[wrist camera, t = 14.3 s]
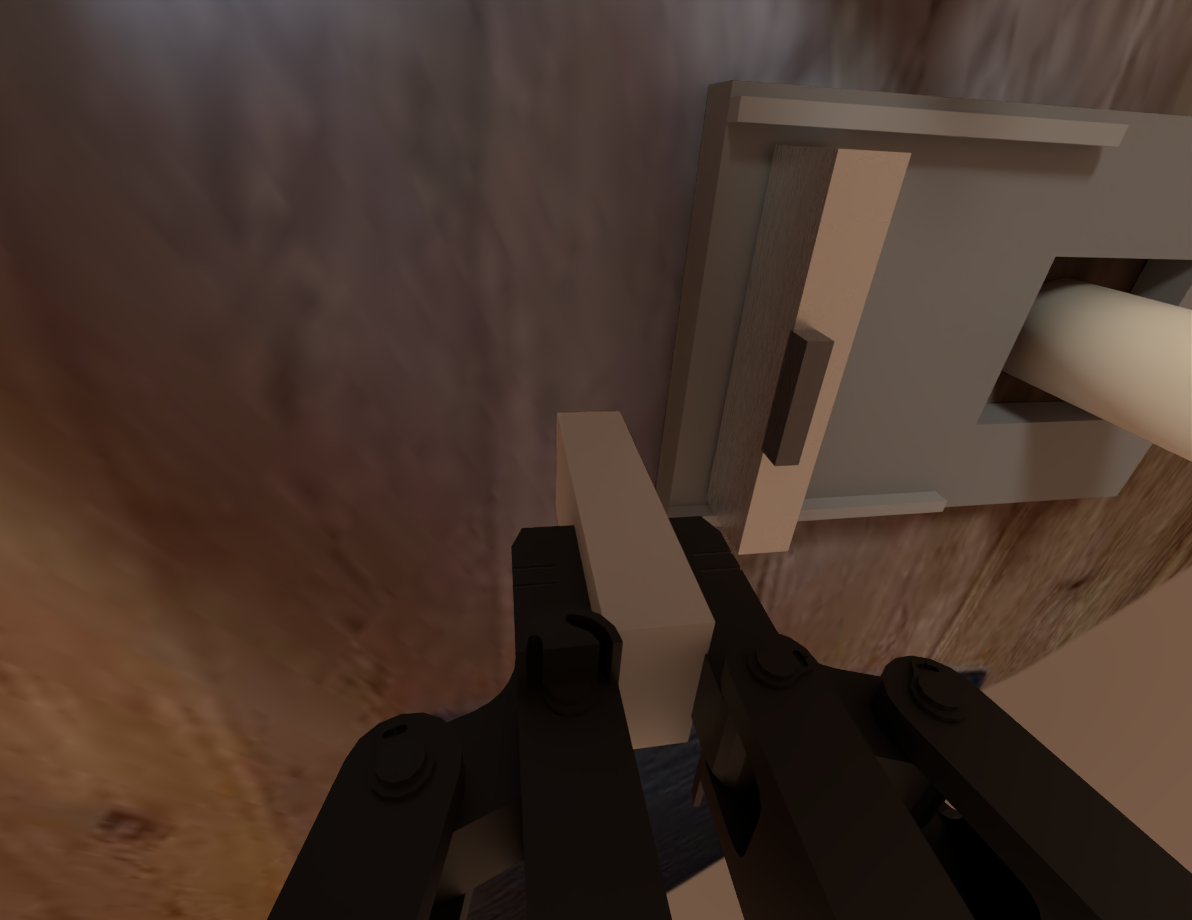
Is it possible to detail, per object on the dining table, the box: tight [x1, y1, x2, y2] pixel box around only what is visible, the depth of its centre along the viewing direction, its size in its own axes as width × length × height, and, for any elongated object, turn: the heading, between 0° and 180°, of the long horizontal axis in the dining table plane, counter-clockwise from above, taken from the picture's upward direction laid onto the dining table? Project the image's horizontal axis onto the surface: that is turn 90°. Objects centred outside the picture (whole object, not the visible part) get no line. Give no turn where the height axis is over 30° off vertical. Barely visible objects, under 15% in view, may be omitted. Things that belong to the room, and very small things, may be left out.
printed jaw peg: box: [1002, 278, 1192, 462], centre depth 20 cm, size 4×4×10 cm
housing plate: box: [656, 80, 1192, 527], centre depth 22 cm, size 24×16×3 cm, turn 87°
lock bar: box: [706, 145, 911, 555], centre depth 18 cm, size 2×13×4 cm, turn 177°
